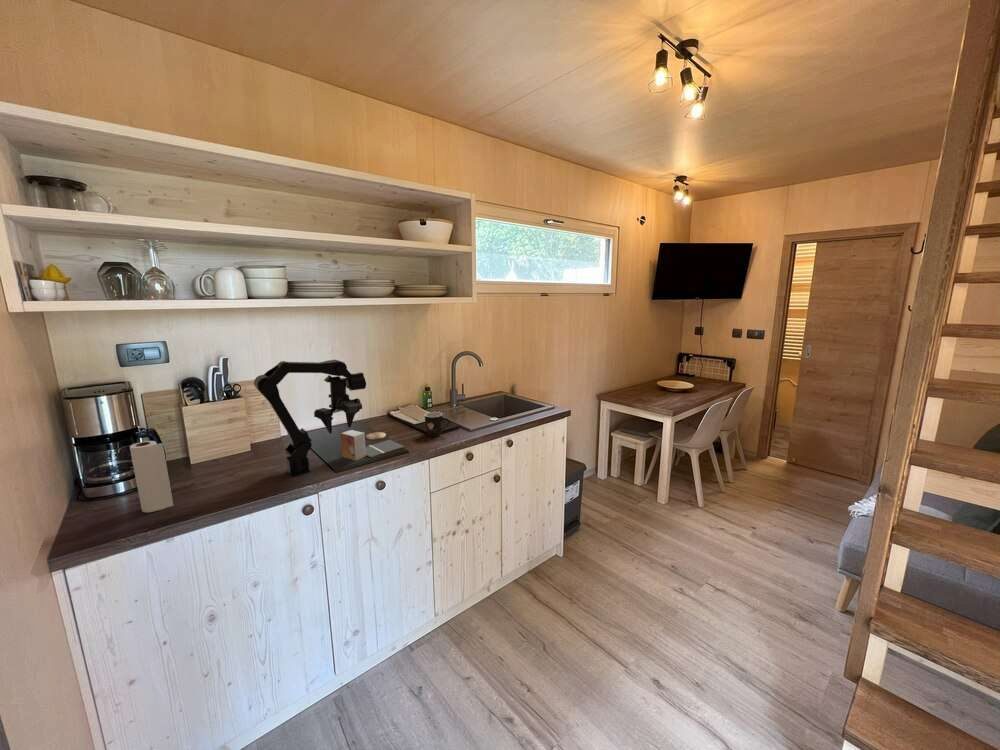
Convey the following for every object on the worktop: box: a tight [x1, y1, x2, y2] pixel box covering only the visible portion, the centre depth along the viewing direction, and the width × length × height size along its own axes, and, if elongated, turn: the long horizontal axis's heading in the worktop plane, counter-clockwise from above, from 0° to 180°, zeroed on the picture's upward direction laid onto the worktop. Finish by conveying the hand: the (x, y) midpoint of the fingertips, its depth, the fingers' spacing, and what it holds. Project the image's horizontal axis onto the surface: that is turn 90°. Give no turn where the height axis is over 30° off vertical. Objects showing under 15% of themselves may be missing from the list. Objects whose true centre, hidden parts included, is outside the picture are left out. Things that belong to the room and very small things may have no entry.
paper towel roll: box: [129, 440, 174, 513], centre depth 123 cm, size 7×6×21 cm
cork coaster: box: [365, 431, 387, 441], centre depth 189 cm, size 9×9×1 cm
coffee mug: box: [423, 411, 450, 438], centre depth 190 cm, size 12×9×10 cm
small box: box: [340, 429, 367, 462], centre depth 164 cm, size 8×6×10 cm
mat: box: [365, 439, 405, 459], centre depth 173 cm, size 16×12×1 cm
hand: (340, 430), depth 159 cm, fingers open, 9 cm apart
